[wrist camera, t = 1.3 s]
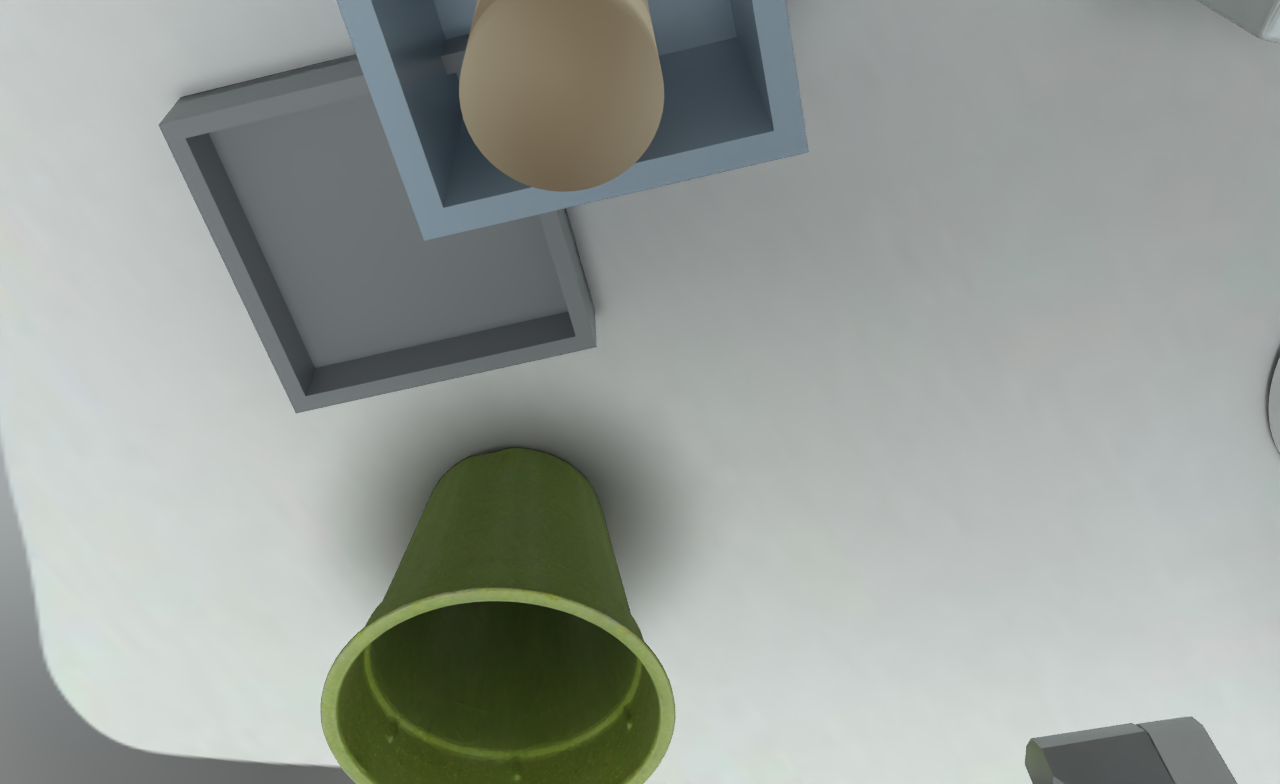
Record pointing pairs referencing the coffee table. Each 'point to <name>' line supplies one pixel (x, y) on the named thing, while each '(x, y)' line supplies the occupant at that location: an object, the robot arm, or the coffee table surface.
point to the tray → (364, 244)
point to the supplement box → (1251, 15)
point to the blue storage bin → (681, 150)
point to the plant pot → (502, 644)
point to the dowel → (562, 89)
